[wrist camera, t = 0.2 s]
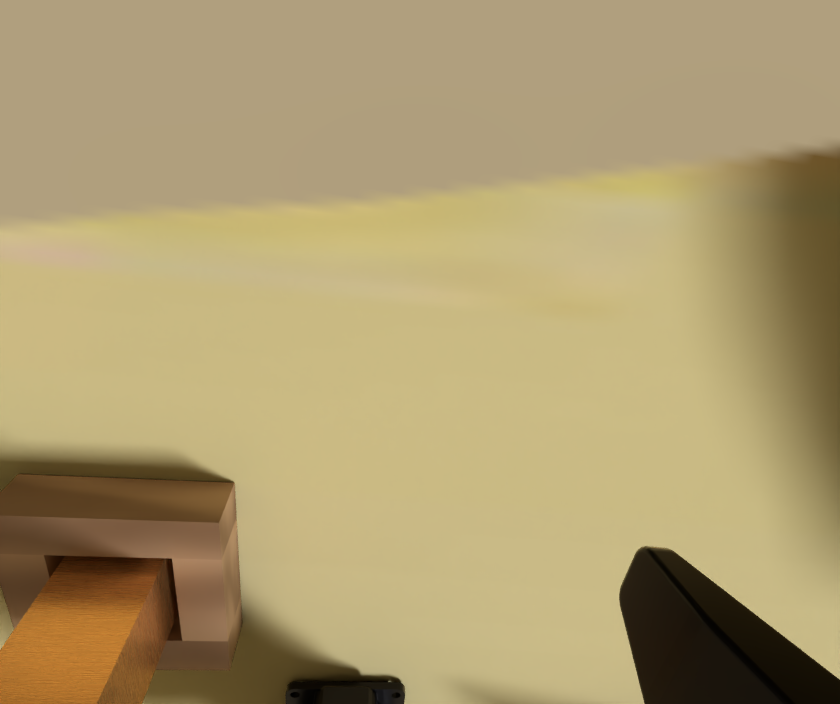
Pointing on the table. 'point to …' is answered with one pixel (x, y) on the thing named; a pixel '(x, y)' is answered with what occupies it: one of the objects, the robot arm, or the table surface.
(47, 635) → the peg
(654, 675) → the robot arm
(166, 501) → the mount
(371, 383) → the table surface
